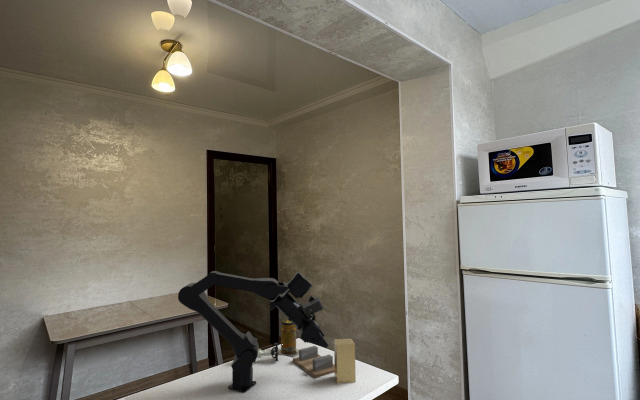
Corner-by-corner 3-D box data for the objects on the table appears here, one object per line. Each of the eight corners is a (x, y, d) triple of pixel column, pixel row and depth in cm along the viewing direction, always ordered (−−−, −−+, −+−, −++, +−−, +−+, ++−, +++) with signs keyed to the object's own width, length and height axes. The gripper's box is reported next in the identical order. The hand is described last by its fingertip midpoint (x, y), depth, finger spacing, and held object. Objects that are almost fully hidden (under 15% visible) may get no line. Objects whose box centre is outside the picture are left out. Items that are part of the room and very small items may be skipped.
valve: (244, 367, 116) (278, 364, 118) (244, 348, 116) (278, 346, 118) (245, 360, 122) (277, 357, 124) (245, 342, 123) (277, 339, 125)
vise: (339, 370, 112) (339, 357, 112) (315, 378, 107) (314, 364, 107) (315, 354, 126) (315, 343, 126) (292, 360, 121) (292, 348, 121)
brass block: (337, 383, 103) (336, 344, 104) (334, 376, 108) (334, 339, 109) (355, 382, 104) (354, 343, 105) (352, 375, 109) (351, 338, 110)
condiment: (286, 347, 134) (286, 318, 135) (304, 350, 130) (303, 320, 131) (276, 353, 128) (276, 322, 129) (294, 357, 124) (294, 325, 125)
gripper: (311, 296, 98) (347, 331, 98) (306, 285, 116) (337, 315, 117) (285, 324, 96) (322, 360, 96) (284, 308, 114) (315, 338, 115)
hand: (325, 341), depth 106 cm, fingers open, 9 cm apart
